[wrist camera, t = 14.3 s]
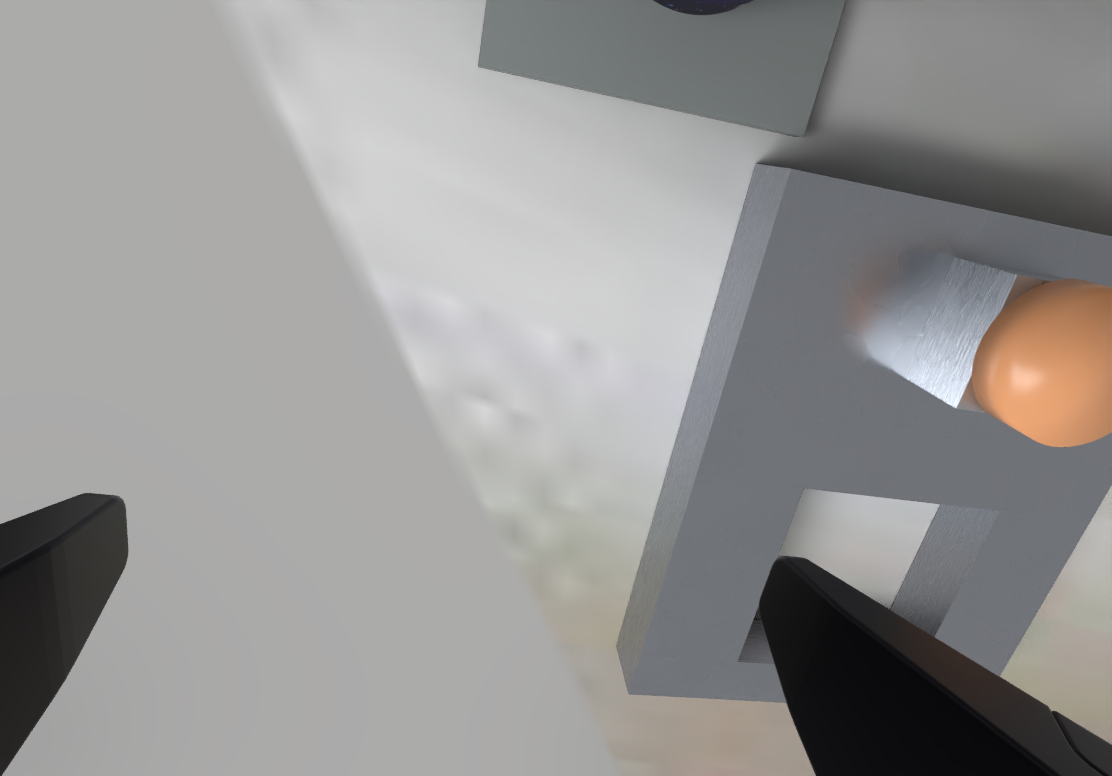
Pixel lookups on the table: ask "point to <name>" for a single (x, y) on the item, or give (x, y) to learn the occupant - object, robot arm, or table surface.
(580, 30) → the pad
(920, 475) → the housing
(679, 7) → the beverage can
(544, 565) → the table surface
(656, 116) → the table surface
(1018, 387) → the peach dome cap
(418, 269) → the table surface
